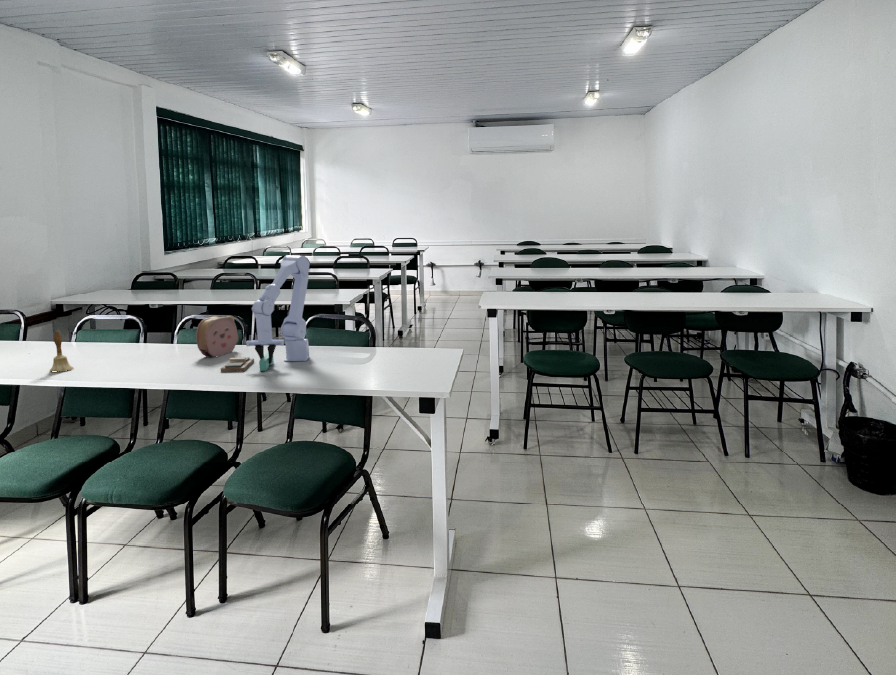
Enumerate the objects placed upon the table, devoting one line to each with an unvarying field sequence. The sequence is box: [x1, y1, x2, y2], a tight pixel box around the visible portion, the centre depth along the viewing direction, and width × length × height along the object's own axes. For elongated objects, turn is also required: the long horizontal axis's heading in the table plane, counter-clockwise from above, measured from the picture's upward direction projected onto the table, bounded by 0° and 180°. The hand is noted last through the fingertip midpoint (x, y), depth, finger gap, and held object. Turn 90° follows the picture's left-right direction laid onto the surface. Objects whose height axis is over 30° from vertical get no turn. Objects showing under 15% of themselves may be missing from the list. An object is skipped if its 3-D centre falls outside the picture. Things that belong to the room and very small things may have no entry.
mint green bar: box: [258, 352, 275, 372], centre depth 240 cm, size 14×2×4 cm, turn 4°
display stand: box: [220, 356, 255, 373], centre depth 242 cm, size 16×9×4 cm, turn 4°
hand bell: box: [49, 330, 74, 372], centre depth 238 cm, size 8×8×16 cm
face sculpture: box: [195, 315, 239, 358], centre depth 264 cm, size 20×7×17 cm, turn 161°
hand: (266, 362), depth 240 cm, fingers closed on mint green bar, 2 cm apart
